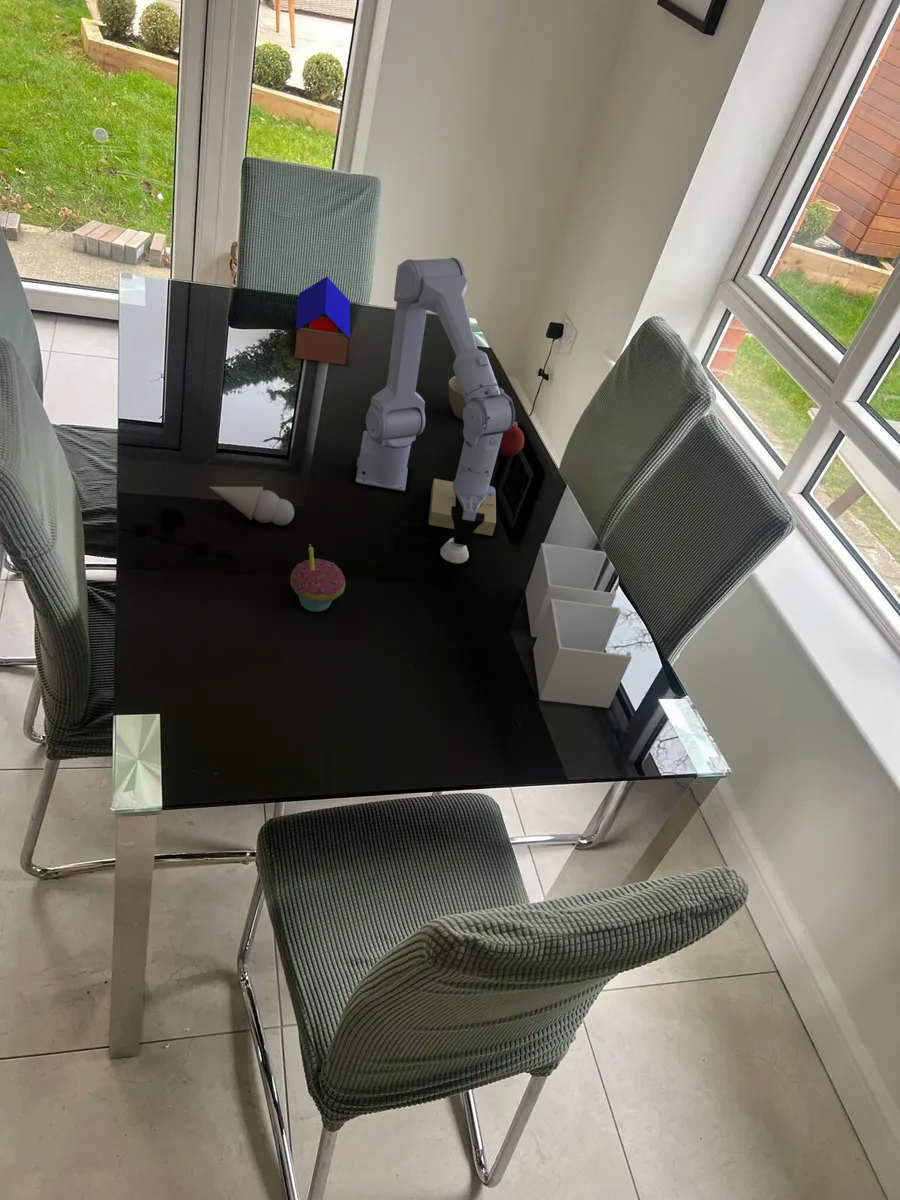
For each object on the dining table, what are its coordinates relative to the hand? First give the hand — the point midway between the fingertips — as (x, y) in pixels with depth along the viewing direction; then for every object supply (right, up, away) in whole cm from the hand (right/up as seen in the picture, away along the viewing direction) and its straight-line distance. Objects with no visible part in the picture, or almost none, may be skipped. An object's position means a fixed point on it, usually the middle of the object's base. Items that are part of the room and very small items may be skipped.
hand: (460, 530), depth 157 cm
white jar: (-1, -4, +4) cm, 6 cm away
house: (-32, +48, +56) cm, 80 cm away
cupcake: (-23, -12, -12) cm, 29 cm away
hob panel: (0, +4, +14) cm, 15 cm away
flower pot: (+2, +28, +43) cm, 51 cm away
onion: (+10, +18, +33) cm, 39 cm away
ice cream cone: (-36, +2, +1) cm, 37 cm away
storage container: (+17, -20, -9) cm, 27 cm away
